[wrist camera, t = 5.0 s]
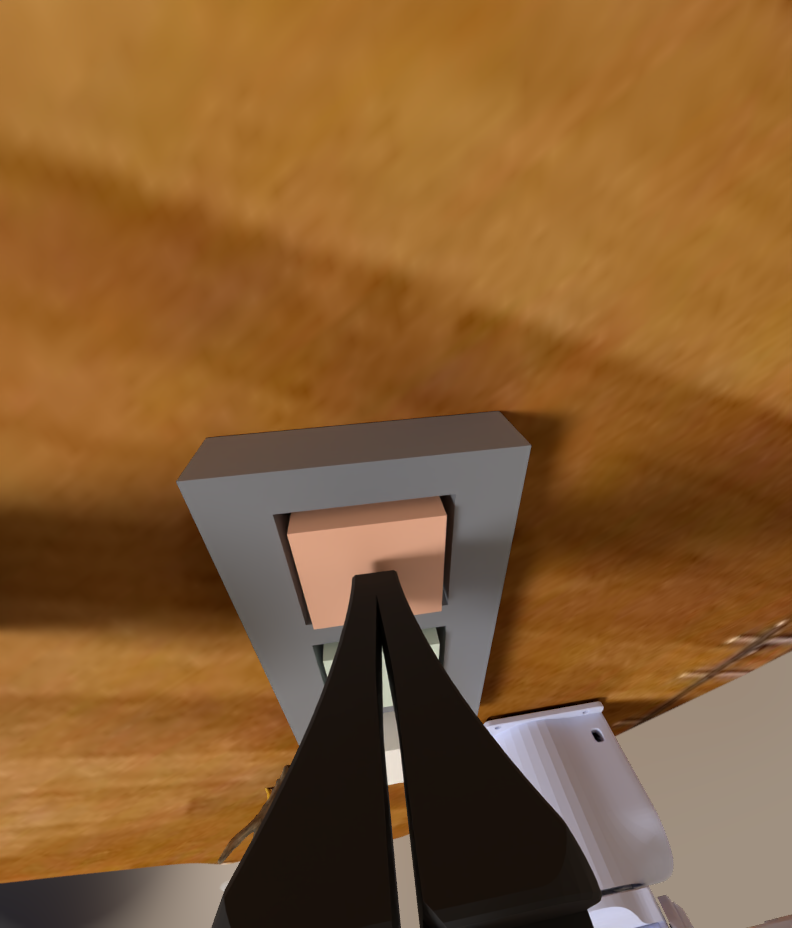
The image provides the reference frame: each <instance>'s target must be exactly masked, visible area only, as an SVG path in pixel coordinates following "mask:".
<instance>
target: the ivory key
mask: <svg viewBox="0 0 792 928" xmlns="http://www.w3.org/2000/svg"><path fill="white" fill-rule="evenodd" d="M383 730H384V747H385V758H386V770H387V781H388V785H391V784H396V783H401V782H404V780H403V771H402V762H401V753H400V745H399V737H398V730H397V724H396V718H395V713H394V711H392V712H386V713H383Z"/></svg>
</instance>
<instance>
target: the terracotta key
mask: <svg viewBox="0 0 792 928" xmlns="http://www.w3.org/2000/svg"><path fill="white" fill-rule="evenodd" d="M446 521H447V514H446V512H445V509H444V507H443V504H442V502H441V499H440V496H433V497H424V498H415V499H406V500H398V501H389V502H380V503H371V504H362V505H353V506H345V507H336V508H327V509H318V510H309V511H300V512H292V513H291V515H290V521H289V526H288V532H287V536H288V540H289V543H290V547H291V550H292V554H293V557H294V561H295V564H296V568H297V571H298V575H299V579H300V582H301V586H302V589H303V593H304V596H305V600H306V603H307V607H308V610H309V614H310V617H311V621H312V625H313V628H314V630H315V629H321V628H328V627H335V626H342V625H344V621H345V618H346V613H347V609H348V604H349V599H350V593H351V586H352V577H354V576H355V575H359V574H367V573H374V572H382V571H390V570H394V571H396V572H397V574H398V578H399V581H400V584H401V587H402V589H403V592H404V594H405V597H406V599H407V601H408V604H409V606H410V608H411V610H412V612H413V614H414V615H418V614H425V613H432V612H439V611H442V593H443V575H444V557H445V539H446Z"/></svg>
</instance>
